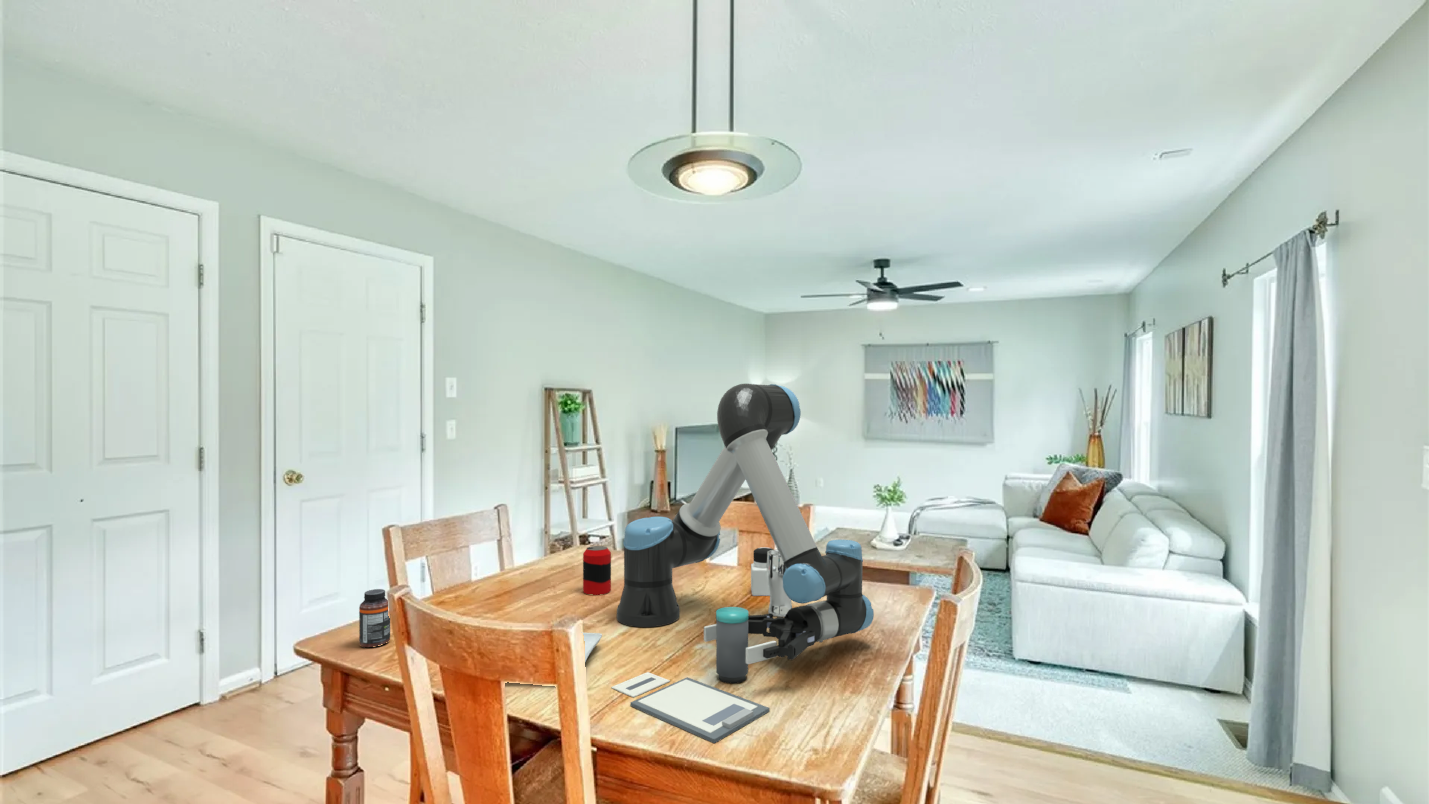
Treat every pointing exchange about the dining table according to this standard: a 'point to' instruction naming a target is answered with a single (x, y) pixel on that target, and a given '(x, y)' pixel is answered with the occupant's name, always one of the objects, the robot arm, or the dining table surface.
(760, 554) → the medicine bottle
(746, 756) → the dining table surface
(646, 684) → the word card
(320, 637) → the dining table surface
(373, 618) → the supplement bottle
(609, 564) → the soda can
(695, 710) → the clipboard
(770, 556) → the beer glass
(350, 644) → the dining table surface
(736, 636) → the grey teal cylinder
